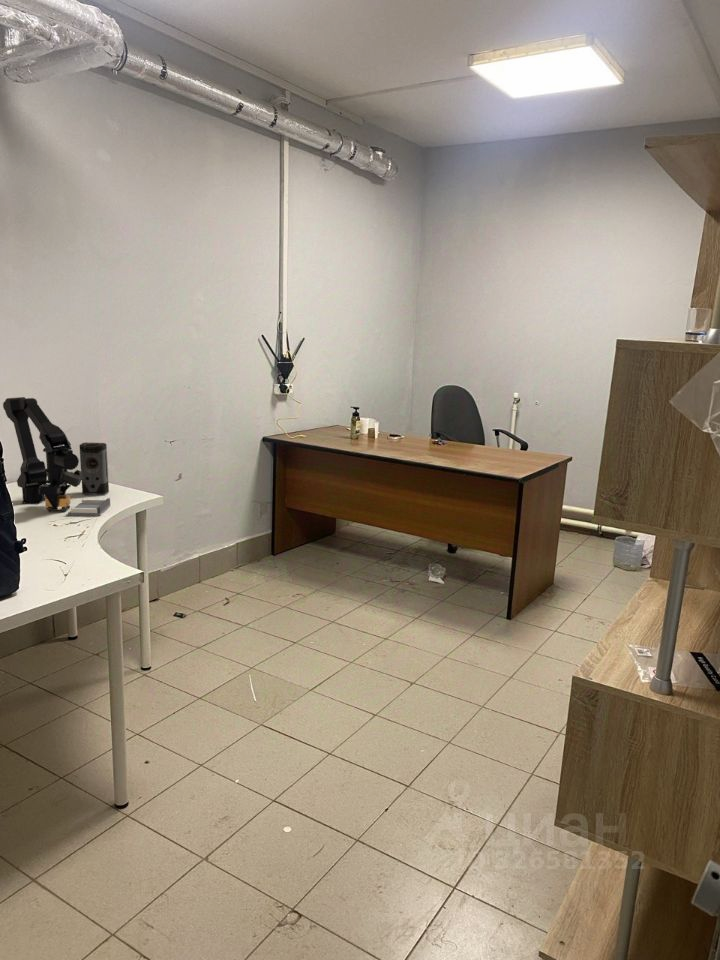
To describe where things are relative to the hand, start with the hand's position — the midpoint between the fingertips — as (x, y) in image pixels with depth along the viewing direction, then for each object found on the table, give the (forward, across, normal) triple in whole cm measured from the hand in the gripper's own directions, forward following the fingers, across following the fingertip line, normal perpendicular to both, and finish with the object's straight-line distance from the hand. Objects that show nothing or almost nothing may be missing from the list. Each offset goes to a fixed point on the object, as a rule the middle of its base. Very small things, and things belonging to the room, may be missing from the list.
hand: (58, 507), depth 247 cm
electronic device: (+1, +24, -6) cm, 25 cm away
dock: (+1, 0, -11) cm, 11 cm away
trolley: (+1, 0, 0) cm, 1 cm away
